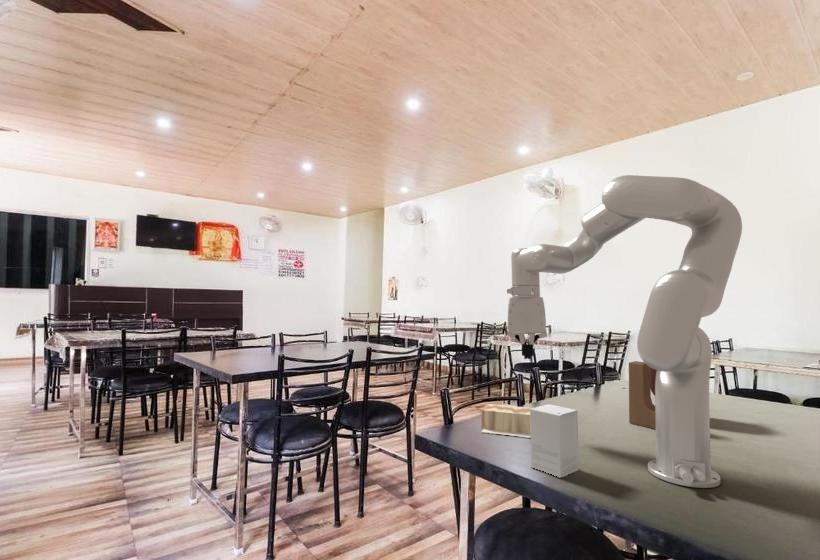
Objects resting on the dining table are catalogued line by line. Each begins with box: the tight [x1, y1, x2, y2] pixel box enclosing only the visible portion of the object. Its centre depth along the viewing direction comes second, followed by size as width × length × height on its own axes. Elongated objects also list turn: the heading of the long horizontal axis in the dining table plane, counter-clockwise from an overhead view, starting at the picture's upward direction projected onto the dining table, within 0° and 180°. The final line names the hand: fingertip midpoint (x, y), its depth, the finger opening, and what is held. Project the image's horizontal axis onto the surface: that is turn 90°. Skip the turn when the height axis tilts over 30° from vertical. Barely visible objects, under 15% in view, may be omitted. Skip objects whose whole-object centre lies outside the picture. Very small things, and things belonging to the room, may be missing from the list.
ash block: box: [481, 403, 533, 434], centre depth 119 cm, size 8×5×16 cm
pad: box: [481, 429, 531, 439], centre depth 119 cm, size 14×14×1 cm
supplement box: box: [530, 403, 579, 479], centre depth 91 cm, size 7×7×13 cm
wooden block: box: [628, 360, 656, 430], centre depth 124 cm, size 9×4×18 cm, turn 38°
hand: (527, 358), depth 118 cm, fingers closed
